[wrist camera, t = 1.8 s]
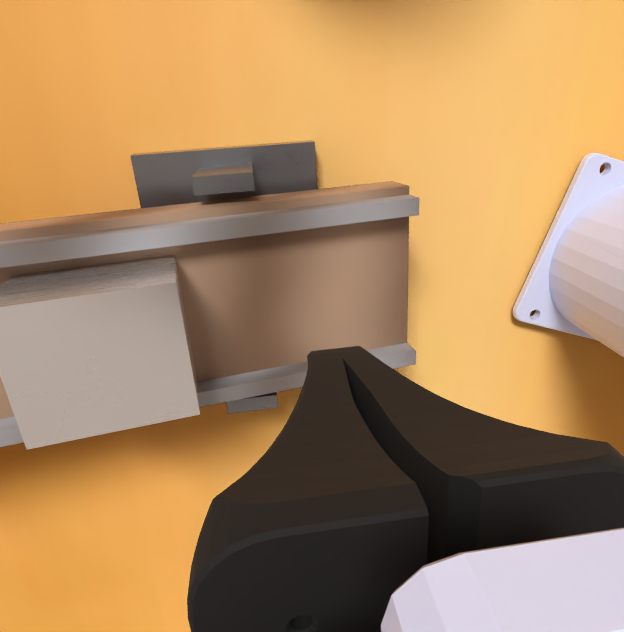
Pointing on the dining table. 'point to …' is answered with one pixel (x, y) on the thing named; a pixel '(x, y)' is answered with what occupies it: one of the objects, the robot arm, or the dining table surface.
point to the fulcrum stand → (226, 189)
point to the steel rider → (96, 350)
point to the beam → (251, 278)
